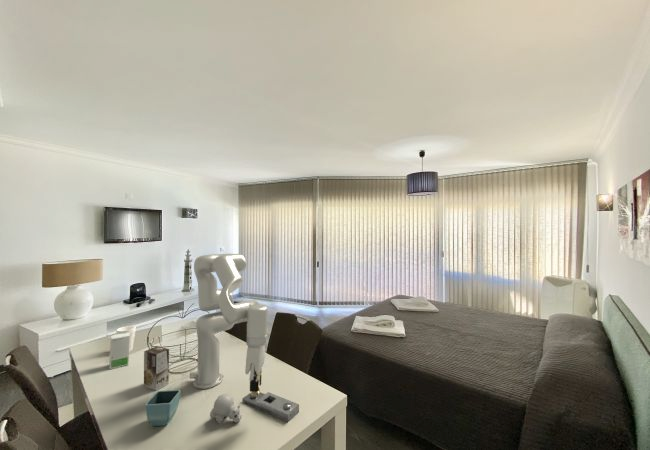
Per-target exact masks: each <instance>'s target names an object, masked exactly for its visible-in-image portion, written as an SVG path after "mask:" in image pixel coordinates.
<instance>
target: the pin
mask: <svg viewBox="0 0 650 450" xmlns="http://www.w3.org/2000/svg"><path fill="white" fill-rule="evenodd" d="M255 372H256V371H255ZM260 375H261V374H260V372H259V374H258V380H259V391H258V392H251V391H250V393H251V395H252V396H258V395H259V394H260V392H261V391H260V389H261V387H260ZM254 376H256V375H254Z"/></svg>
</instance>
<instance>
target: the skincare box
mask: <svg viewBox="0 0 650 450" xmlns="http://www.w3.org/2000/svg"><path fill="white" fill-rule="evenodd" d="M109 343H110V347H109V362H108V363H109V370H112V369H116V368H122V367H125V365H126V366H129V365H128V364H129V361H130V351H129V343H130V334H129V333H124V334H118V335H117V334H113V335H110V342H109ZM121 366H122V367H121Z"/></svg>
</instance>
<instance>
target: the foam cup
mask: <svg viewBox="0 0 650 450" xmlns="http://www.w3.org/2000/svg"><path fill="white" fill-rule="evenodd" d="M136 331H137V326H136V325H126V326H122V327H119V328H117V329H116V333H115V335H118V334H124V333H129V334H130V343H129V352H131V351H132V350H133V349H134V342H135V336H136Z"/></svg>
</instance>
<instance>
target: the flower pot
mask: <svg viewBox="0 0 650 450" xmlns="http://www.w3.org/2000/svg"><path fill="white" fill-rule="evenodd" d="M180 396H181V389H178V390H177V389H174V390H173V389H172V390H171V389H170V390H157V391H156V392H155V393H154V395H153V396H151V397H150V398H149V400H148V401H147V402H146V403H145V404H144V405H145V406H144V407H145V414H146V419H147V421H148V423H149V424H150V425H151V426H152V427H158V426H167V425H168V424H169V423H170V422H171V420H172V419H173V417H174V416H175V414H176V412H177V410H178V406H179V404H180Z"/></svg>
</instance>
